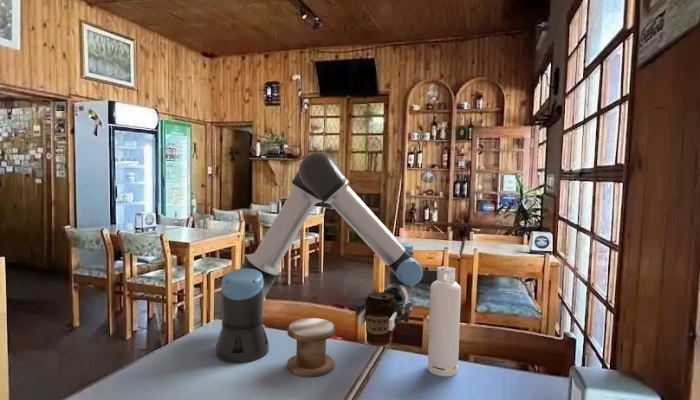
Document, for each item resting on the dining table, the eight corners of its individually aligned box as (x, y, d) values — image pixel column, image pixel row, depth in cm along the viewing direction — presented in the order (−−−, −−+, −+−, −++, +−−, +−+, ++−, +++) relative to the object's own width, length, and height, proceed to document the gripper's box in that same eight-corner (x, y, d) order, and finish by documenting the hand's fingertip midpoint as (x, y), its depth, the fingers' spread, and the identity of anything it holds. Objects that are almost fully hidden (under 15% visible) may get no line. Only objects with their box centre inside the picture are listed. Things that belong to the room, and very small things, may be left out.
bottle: (449, 361, 123) (453, 264, 121) (463, 375, 115) (467, 271, 113) (423, 364, 121) (426, 265, 119) (434, 377, 113) (438, 272, 111)
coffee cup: (392, 351, 110) (394, 301, 109) (360, 347, 112) (362, 298, 111) (395, 338, 119) (398, 292, 118) (365, 335, 120) (368, 289, 120)
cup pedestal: (277, 365, 118) (277, 325, 118) (312, 351, 128) (312, 314, 127) (309, 382, 110) (309, 338, 109) (344, 365, 119) (345, 325, 118)
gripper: (426, 315, 129) (413, 343, 107) (361, 306, 135) (337, 331, 114) (427, 290, 129) (415, 314, 107) (362, 282, 135) (338, 303, 113)
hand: (375, 323), depth 110 cm, fingers closed on coffee cup, 7 cm apart
